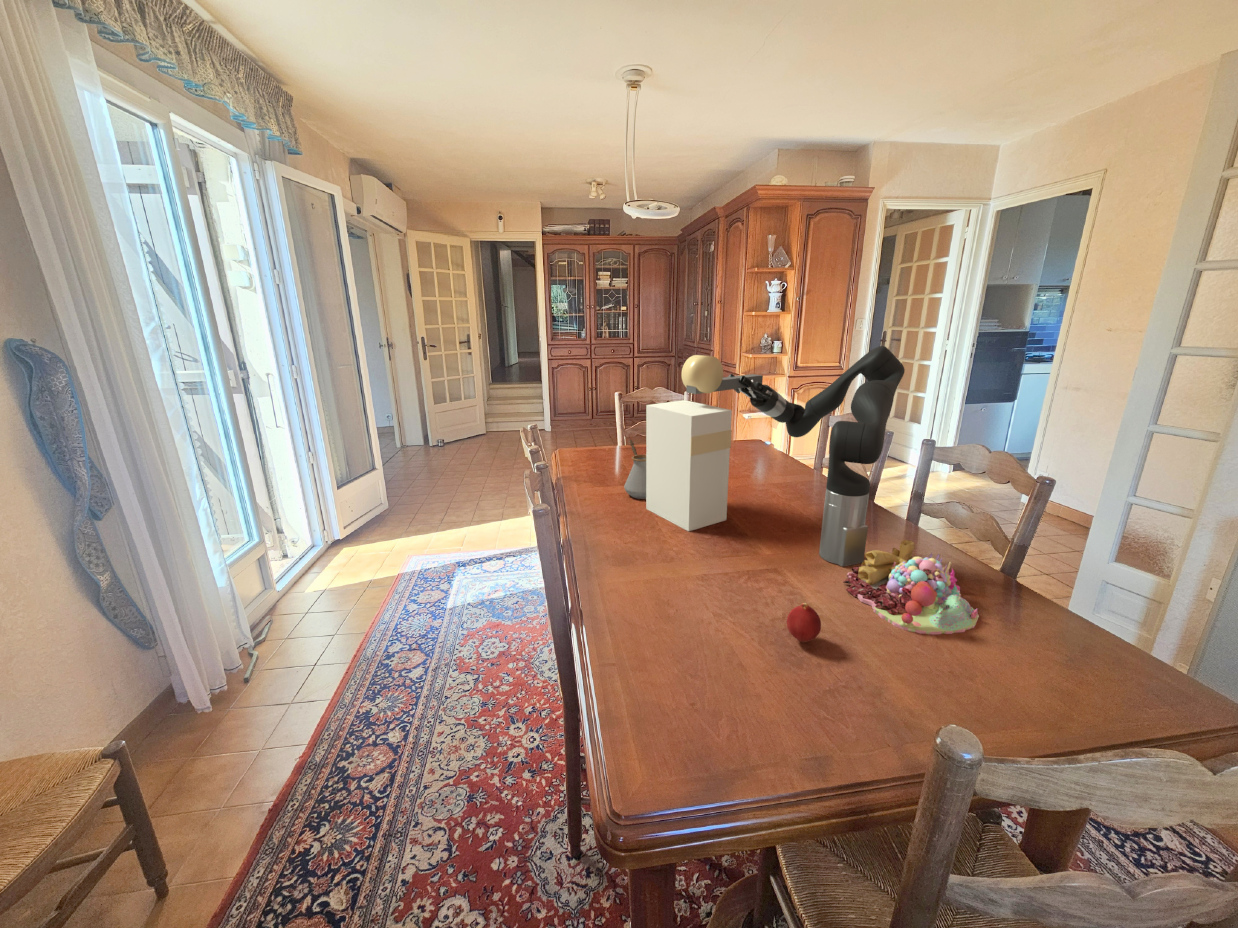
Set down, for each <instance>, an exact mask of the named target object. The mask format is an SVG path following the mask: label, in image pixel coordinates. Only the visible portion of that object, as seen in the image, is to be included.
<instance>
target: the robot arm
mask: <svg viewBox="0 0 1238 928" xmlns="http://www.w3.org/2000/svg"><path fill="white" fill-rule="evenodd" d="M905 370H906V369H905V366H904V364H903V363H902V362H901V361H900V360H899V359H898V357H896V355H894V354H893V352H892V351H891V350H890V349H889V348H888V347H887V346H886V345H879V346H877V347H874V348H873V349H871V350H870V351H868V352H867V353H865V354H864V355H863V356H862V357H861V358H859V360H857V361H856V362H855V363H854V364H852V365H851V366H850V367H848V368H847V370H846V371H844V372H843V373H842V374H841V375H840V376H838V378H837V379H835V381H833V382H832V383H831V384H830V385H828V386H827V387H826V388H824V389H822V390H821V392H820V391H819V393H817V394H816V395H814V396H813V397H811V398H810V399H808V401H807V402H806V403H805V405H804V407H803V406H802V405H800V404H797V403H794V402H790V401H788V400H787V399H785V398H784V397H783V396H782V394H781V393H779V392H778V391H776V390H775V389H773V388H772V387H771V386H769V385H768V384H763V383H762V384H761V383H759V382H754V381H752V380H751V381H750V380H749V379H748V378H746V377H745V376H743V375H744V374H742V375H739V376H740V379H739V383H741V384H742V385H744V386H745V387H746V388H739V389H733V391H734V392H736V393H737V394H741V393H742V394H743V395H745V396H746V397H747V398H749V402H750V404H751V406H752V407H754V408H756V409H757V410H759V411H760V412H761V413H763V414H764V415H766V416H769V417H771V419H773V420H775V421H776V422H779V423H785V427H786V431H787V434H788V435H789V437H793V438H801V437H804V436H806V435H807V434H808V433H810V432H811V431H812V430H813V429H814V428H815V427H816V425H817V424H818V423H819V422H820V421H821V420H822V419H823V418H824V417H826V416H828V415H829V414H831V413H832V412H834V411H836V410H837V409H838V408H839V407H840V406H841V405H842V403H843V402H844V400H845V398H846V396H847V394H848V391H849V388H850V386H851V384H852V382H853V381H854V380H855V378H857V377H858V376H859V375H860V374H861V375H862V376H863V377H864V378H865V380H867V381H865V382H864V383H862V384H861V385H859V386H858V388H857V389H856V391H855V392H854V394H853V397H852V400H851V403H850V411H851V414H852V416H853V418H854V419H855V420H856V421H849V420H838V421H836V422H835V423H834V424H833V426H832V427H831V431H830V437H829V451H828V452H829V453H828V465H827V467H828V468H827V469H828V470H827V478H826V484H825V485H826V487H825V495H824V496H825V498H824V505H823V512H822V513H823V514H822V522H821V532H820V542H819V551H818V552H819V553H818V554H819V556H820V558H821V559H822V560H824V561H826V562H829V563H831V564H836V565H839V566H841V567H843V568H844V567H847V566H854V565H859V564H862V562H863V561H864V560H865V555H864V554H865V553H866V551H865V550H866V546H867V539H868V532H869V526H868V524H866V518H867V511H868V503H869V497H870V489H871V482H870V479H869V478H867V477H866V476H864V475H862V474H860V473H858V472H856V471H854V470H853V469H851V468H850V467H849V466H848V465H847V464H846V463H853V464H860V465H861V464H862V465H873V464H875V463H877V461H878V460H879V459H880V457H881V455H882V451H883V448H884V443H885V436H886V428H887V424H888V420H889V416H890V413H891V411H892V408H893V403H894V399H895V398H894V397H895V394H896V392H897V389H898V387H899V385H900V383H901V382H902V379H903V377H904V374H905ZM733 376H735V374H733V373H730V374H729V375H728V377H733Z"/></svg>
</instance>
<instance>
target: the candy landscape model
mask: <svg viewBox="0 0 1238 928" xmlns="http://www.w3.org/2000/svg"><path fill="white" fill-rule="evenodd" d="M915 549H916V547H915V542H913V541H912V540H910V539H904V540H901V542H900V543H899V549H897V548H895V547H893V548H892V551H891V552H887V551H882V550H878V549H877V550H876V549H874V550H869V551H867V552H865V554H864V557H865V558H866V559H864V561H863V562H862V563H860V565H857V566H855V567H852V568H851V571H850V572H849V571H848V572H847V574H846V575H847V576H846V577H847V578H846V579H845V580H844V581H843V582H842V583H843V584H850V586H849V587H847V588H845V590H846V591H847V592H848V593H849V594H851V596H853V597H857V599H858V600H859V601H860V602H861V603H864V604H866V605H869V606H871V609H872V610H873V613H875V614H876V615H877V616H878V617H880V619H882V620H885V621H886V622H887V623H889V624H891V625H893V626H894V627H896V628H899V629H901V630H904V631H906V632H909V633H910V632H912V633H916V634H920V635H922V634H923V635H924V634H925V635H931V636H932V635H942V634H946V635H952V634H955V633H965V632H966V631H967V630H968V631H969V630H971V629H974V628H975V627H976V625H977V622H978V620H979V618H980V614H978V608H976V609H975V608H973V606H971V604H970V603H969V602H968V601H967V600H966V599H965V598H964V597H962V594H961V591H960V590H961V586H960V585H957V583H956V582H958V580H957V578H956V577H955V570H954V569H953V568H951V566H952V561H949V563H948V564H947V563H945V566H944V567H943V565H942V564H943V563H942V562H943V557H941V558H940V555H941V554H940V553H938V554H937V555H936V558H934V557H933V552H931V553H930V554H929V555H928V557H927V556H926V557H923V556H922V557H921V556H913V552H914V550H915ZM950 568H951V572H950Z"/></svg>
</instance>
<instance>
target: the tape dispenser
mask: <svg viewBox="0 0 1238 928" xmlns="http://www.w3.org/2000/svg"><path fill="white" fill-rule="evenodd" d="M742 375H743V376H745V377H746V378H748V379H749V380H750V381H751V380H752V381H754V382H759V383H761V384H763V379H764V378H763V377H764V375H763V374H756V373H755V374H754V373H752V374H751V373H750V374H742ZM740 376H741V375H734V376H733V377H729V376H725V377H724V367H723V363H722V362H721V360H720V359H719V358H718V357H716V356H712V355H701V354H693V355H691V356H690V357H688V358H687V359H686V361H685V362H684V364H683V366H682V368H681V381H682V384H683V385H684V387H685V388H686V391H685V392H686V394H693V395H700V394H711V393H715V392H722V391H729V390H730V391H731V390H734V389H739V388H746V387H745V386H744V385H742V384H741V383H739V379H740Z"/></svg>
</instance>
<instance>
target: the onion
mask: <svg viewBox="0 0 1238 928" xmlns="http://www.w3.org/2000/svg"><path fill="white" fill-rule="evenodd" d="M821 621H822V620H821V618H820V616H819V614H818V613H817V611H816V610H815V609H814V608H813V607H811V606H810V605H809V604H808V603H807V602H803V603H800V605H797V606H795V607H793V608H792V609H791V610H790V612H789V613H788V615H787V618H786V629H788V632H789V634H790V635H791V636H792V637H794V639H796V640H797V641H799V642H800V643H802V644H803V643H807V642H810V641H811V642H812V640H815V639H817V637H818V636H819V635H820V632H821V630H822V622H821Z"/></svg>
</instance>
